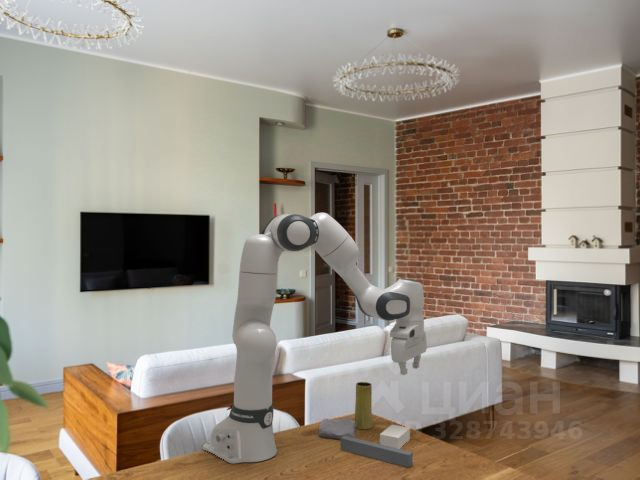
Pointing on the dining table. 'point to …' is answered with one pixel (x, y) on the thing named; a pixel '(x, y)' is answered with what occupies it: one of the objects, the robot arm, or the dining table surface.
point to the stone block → (337, 428)
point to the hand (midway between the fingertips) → (410, 371)
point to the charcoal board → (377, 451)
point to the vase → (363, 405)
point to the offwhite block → (395, 436)
